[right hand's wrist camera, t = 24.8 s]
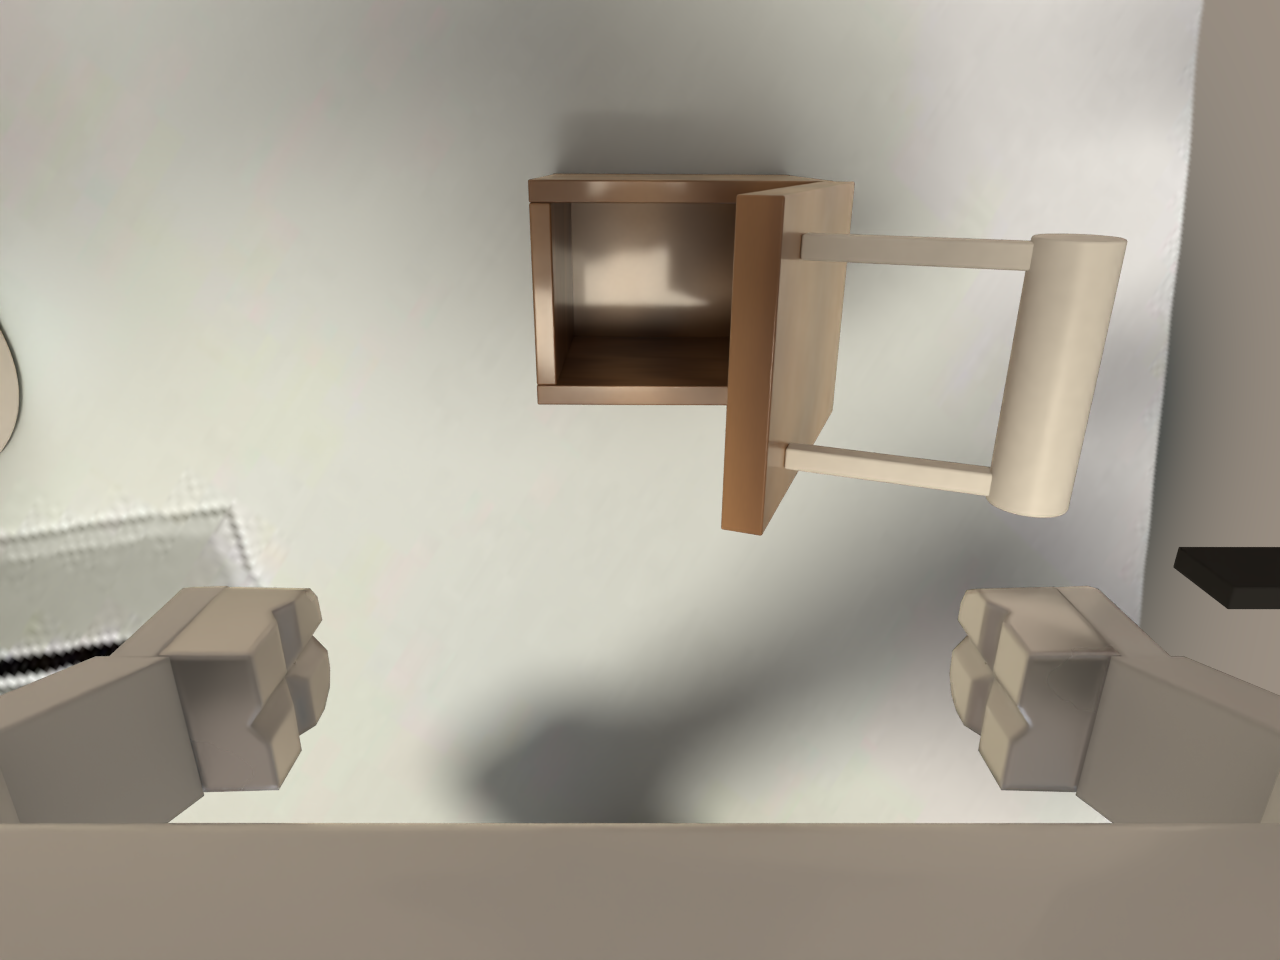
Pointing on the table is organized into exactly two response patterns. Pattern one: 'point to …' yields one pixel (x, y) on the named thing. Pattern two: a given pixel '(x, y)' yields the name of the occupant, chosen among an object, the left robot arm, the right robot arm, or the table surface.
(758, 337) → the lid
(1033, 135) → the table surface
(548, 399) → the chest
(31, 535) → the table surface
